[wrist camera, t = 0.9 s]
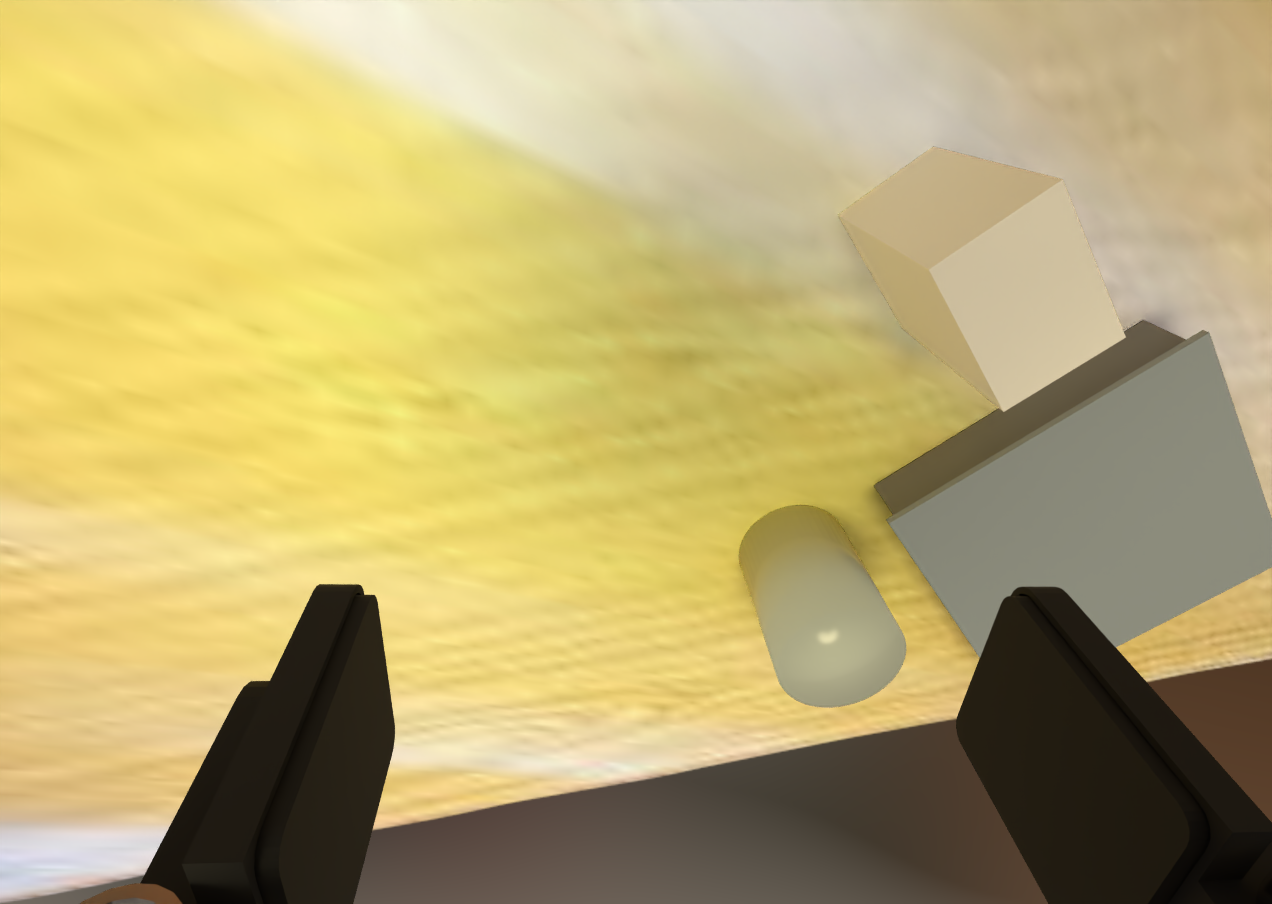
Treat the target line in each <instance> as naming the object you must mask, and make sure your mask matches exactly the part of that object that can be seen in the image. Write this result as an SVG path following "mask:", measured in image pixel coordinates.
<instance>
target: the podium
mask: <svg viewBox="0 0 1272 904" xmlns="http://www.w3.org/2000/svg"><path fill="white" fill-rule="evenodd" d="M1124 334H1125V336H1126V338H1124V339H1123V340H1121V341H1119V342H1118V343H1116V344H1114V345H1113V346H1111V347H1109V348H1108V349H1106V350H1105V351H1103V352H1101V353H1100V354H1098V355H1096V356H1095V357H1093V358H1091V359H1090V360H1088V361H1087V362H1085V363H1083V364H1082V365H1080V366H1078V367H1077V368H1075V369H1073V370H1072V371H1070V372H1068V373H1067V374H1065V375H1064V376H1062V377H1060V378H1059V379H1057V380H1055V381H1054V382H1052V383H1050V384H1049V385H1047V386H1046V387H1044V388H1042V389H1041V390H1039V391H1037V392H1036V393H1034V394H1032V395H1031V396H1029V397H1027V398H1026V399H1024V400H1023V401H1021V402H1019V403H1018V404H1016V405H1014V406H1013V407H1011V408H1009V409H1008V410H1006V411H1005V412H1003V411H1002V410H1000V409H998V410H996V411H995V412H993V413H991V414H990V415H988V416H986V417H985V418H983V419H981V420H980V421H978V422H977V423H975V424H973V425H972V426H970V427H968V428H967V429H965V430H963V431H962V432H960V433H959V434H957V435H955V436H954V437H952V438H950V439H949V440H947V441H946V442H944V443H942V444H941V445H939V446H937V447H936V448H934V449H932V450H931V451H929V452H928V453H926V454H924V455H923V456H921V457H919V458H918V459H916V460H914V461H913V462H911V463H910V464H908V465H906V466H905V467H903V468H901V469H900V470H898V471H897V472H895V473H893V474H892V475H890V476H888V477H887V478H885V479H883V480H882V481H880V482H879V483H877V484H875V485H874V487H875V488H876V490H877V491H878V493H879V494H880V496H881V497H882V499H883V500H884V502H885V503H886V505H887V506H888V508H889V509H890V511H891V512H892V514H893V516H891V517H889V518H888V519H886V520H887V522H888V523H889V525H890V526H891V528H892V529H893V531H894V532H895V534H896V535H897V537H898V538H899V540H900V541H901V543H902V544H903V545H904V547H905V548H906V550H907V551H908V553H909V554H910V556H911V557H912V559H913V560H914V562H915V563H916V565H917V566H918V568H919V569H920V570H921V572H922V573H923V575H924V576H925V578H926V579H927V581H928V582H929V584H930V585H931V587H932V588H933V590H934V591H935V593H936V594H937V596H938V597H939V598H940V600H941V601H942V603H943V604H944V606H945V607H946V609H947V610H948V612H949V613H950V615H951V616H952V618H953V619H954V621H955V622H956V623H957V625H958V626H959V628H960V629H961V631H962V632H963V634H964V635H965V637H966V638H967V640H968V641H969V643H970V644H971V646H972V647H973V648H974V650H975V651H976V653H977V654H978V656H979V657H981V654H982V651H983V649H984V646H985V644H986V641H987V639H988V636H989V633H990V631H991V628H992V626H993V623H994V620H995V618H996V615H997V613H998V610H999V608H1000V605H1001V603H1002V601H1003V599H1004V598H1006V597H1007V596H1011V594H1012V593H1013V591H1014V590H1015V589H1016V588H1018V587H1058V588H1062V589H1063V590H1064V591H1065V592H1066V593H1067V594H1068V595H1069V596H1070V597H1071V598H1072V599H1073V600H1074V601H1075V603H1076V604H1077V605H1078V606H1079V607H1080V608H1081V609H1082V610H1083V612H1084V613H1085V614H1086V615H1087V616H1088V617H1089V618H1090V619H1091V621H1092V622H1093V623H1094V624H1095V625H1096V626H1097V627H1098V628H1099V630H1100V631H1101V632H1102V633H1103V634H1104V635H1105V636H1106V637H1107V638H1108V640H1109V641H1110V642H1111V643H1112V644H1113V645H1114V646H1115V647H1117V646H1119V645H1121V644H1123V643H1125V642H1127V641H1129V640H1131V639H1133V638H1135V637H1137V636H1139V635H1141V634H1143V633H1145V632H1147V631H1149V630H1151V629H1152V628H1154V627H1156V626H1158V625H1160V624H1162V623H1164V622H1166V621H1168V620H1170V619H1172V618H1174V617H1176V616H1178V615H1180V614H1182V613H1184V612H1186V611H1188V610H1190V609H1191V608H1193V607H1195V606H1197V605H1199V604H1201V603H1203V602H1205V601H1207V600H1209V599H1211V598H1213V597H1215V596H1217V595H1219V594H1221V593H1223V592H1225V591H1227V590H1228V589H1230V588H1232V587H1234V586H1236V585H1238V584H1240V583H1242V582H1244V581H1246V580H1248V579H1250V578H1252V577H1254V576H1256V575H1258V574H1260V573H1262V572H1264V571H1266V570H1267V569H1269V568H1271V567H1272V518H1271V515H1270V512H1269V509H1268V506H1267V503H1266V500H1265V497H1264V494H1263V491H1262V488H1261V485H1260V482H1259V479H1258V476H1257V473H1256V470H1255V467H1254V464H1253V461H1252V459H1251V456H1250V453H1249V450H1248V447H1247V444H1246V441H1245V438H1244V435H1243V432H1242V429H1241V426H1240V423H1239V420H1238V417H1237V414H1236V411H1235V408H1234V405H1233V402H1232V399H1231V396H1230V393H1229V390H1228V387H1227V384H1226V381H1225V378H1224V375H1223V372H1222V369H1221V366H1220V363H1219V360H1218V357H1217V354H1216V351H1215V348H1214V345H1213V342H1212V339H1211V336H1210V333H1209V332H1206V331H1204V330H1202V331H1200V332H1199V333H1197V334H1195V335H1194V336H1192V337H1190V338H1189V339H1187V340H1185V339H1183V338H1181V337H1179V336H1177V335H1175V334H1172V333H1170V332H1168V331H1166V330H1164V329H1162V328H1159V327H1157V326H1155V325H1153V324H1151V323H1149V322H1146V321H1144V320H1143V321H1141V322H1140V323H1138V324H1137V325H1135V326H1133V327H1132V328H1130V329H1128V330H1127V331H1125V332H1124Z"/></svg>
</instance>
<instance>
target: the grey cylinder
mask: <svg viewBox="0 0 1272 904" xmlns="http://www.w3.org/2000/svg"><path fill="white" fill-rule="evenodd" d="M739 563H740V567H741V570H742V573H743V576H744V579H745V582H746V585H747V588H748V591H749V594H750V597H751V600H752V603H753V606H754V609H755V612H756V615H757V618H758V621H759V624H760V627H761V630H762V633H763V636H764V639H765V642H766V645H767V648H768V651H769V654H770V657H771V660H772V663H773V666H774V669H775V672H776V675H777V678H778V681H779V683H780V685H781V687H782V688H783V689H784V691H785V692H786V693H787V694H788V695H789V696H791V697H792V698H794V699H795V700H797V701H799V702H801V703H804V704H807V705H810V706H815V707H841V706H846V705H850V704H854V703H857V702H860V701H862V700H865V699H867V698H869V697H871V696H872V695H874V694H876V693H877V692H879V691H880V690H882V689H883V688H884V687H885V686H887V685H888V684H889V683H890V682H891V681H892V680H893V678H894V677H895V676H896V675H897V673H898V672H899V670H900V668H901V667H902V665H903V662H904V659H905V655H906V641H905V638H904V635H903V633H902V631H901V629H900V627H899V626H898V624H897V622H896V620H895V619H894V617H893V615H892V613H891V612H890V610H889V608H888V607H887V605H886V603H885V601H884V600H883V598H882V596H881V594H880V593H879V591H878V589H877V587H876V586H875V584H874V582H873V580H872V579H871V577H870V575H869V574H868V572H867V570H866V568H865V567H864V565H863V563H862V561H861V560H860V558H859V556H858V554H857V553H856V551H855V549H854V547H853V546H852V544H851V542H850V541H849V539H848V537H847V535H846V534H845V532H844V530H843V528H842V527H841V525H840V523H839V522H838V521H837V520H836V518H835V517H833V516H832V515H831V514H830V513H828V512H826V511H824V510H822V509H820V508H817V507H813V506H807V505H795V506H788V507H783V508H780V509H777V510H775V511H772V512H770V513H768V514H767V515H765V516H763V517H762V518H760V519H759V520H758V521H757V522H756V523H754V524H753V525H752V527H751V528H750V529H749V530H748V531H747V533H746V534H745V536H744V538H743V540H742V543H741V545H740V550H739Z"/></svg>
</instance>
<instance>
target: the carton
mask: <svg viewBox="0 0 1272 904" xmlns="http://www.w3.org/2000/svg"><path fill="white" fill-rule="evenodd" d="M838 217H839V218H840V220H841V222H842V224H843V225H844V227H845V229H846V231H847V232H848V234H849V236H850V238H851V240H852V241H853V243H854V245H855V247H856V248H857V250H858V252H859V254H860V255H861V257H862V259H863V261H864V262H865V264H866V266H867V268H868V269H869V271H870V273H871V275H872V276H873V278H874V280H875V282H876V283H877V285H878V287H879V289H880V291H881V292H882V294H883V296H884V298H885V299H886V301H887V303H888V305H889V306H890V308H891V310H892V312H893V313H894V315H895V317H896V319H897V320H898V322H899V324H900V326H901V327H902V329H903V330H905V331H906V332H907V333H908V334H909V335H911V336H912V337H913V338H914V339H915V340H917V341H918V342H919V343H920V344H922V345H923V346H924V347H925V348H926V349H928V350H929V351H930V352H931V353H932V354H934V355H935V356H936V357H937V358H939V359H940V360H941V361H942V362H943V363H945V364H946V365H947V366H948V367H949V368H951V369H952V370H953V371H954V372H956V373H957V374H958V375H959V376H960V377H962V378H963V379H964V380H965V381H966V382H968V383H969V384H970V385H971V386H973V387H974V388H975V389H976V390H977V391H979V392H980V393H981V394H982V395H983V396H985V397H986V398H987V399H988V400H989V401H991V402H992V403H993V404H994V405H996V406H997V407H998V408H999V409H1000V410H1002V411H1003V412H1005V411H1006V410H1008V409H1009V408H1011V407H1013V406H1014V405H1016V404H1018V403H1019V402H1021V401H1023V400H1024V399H1026V398H1027V397H1029V396H1031V395H1032V394H1034V393H1036V392H1037V391H1039V390H1041V389H1042V388H1044V387H1046V386H1047V385H1049V384H1050V383H1052V382H1054V381H1055V380H1057V379H1059V378H1060V377H1062V376H1064V375H1065V374H1067V373H1068V372H1070V371H1072V370H1073V369H1075V368H1077V367H1078V366H1080V365H1082V364H1083V363H1085V362H1087V361H1088V360H1090V359H1091V358H1093V357H1095V356H1096V355H1098V354H1100V353H1101V352H1103V351H1105V350H1106V349H1108V348H1109V347H1111V346H1113V345H1114V344H1116V343H1118V342H1119V341H1121V340H1123V339H1124V338H1126V336H1125V334H1124V331H1123V329H1122V326H1121V324H1120V321H1119V319H1118V316H1117V314H1116V311H1115V309H1114V306H1113V304H1112V301H1111V299H1110V296H1109V294H1108V291H1107V289H1106V286H1105V284H1104V281H1103V279H1102V276H1101V274H1100V271H1099V269H1098V266H1097V264H1096V261H1095V259H1094V256H1093V254H1092V251H1091V249H1090V246H1089V244H1088V241H1087V239H1086V236H1085V234H1084V231H1083V229H1082V226H1081V224H1080V221H1079V219H1078V216H1077V214H1076V211H1075V209H1074V206H1073V204H1072V201H1071V199H1070V196H1069V194H1068V191H1067V189H1066V186H1065V184H1064V181H1063V179H1059V178H1056V177H1052V176H1048V175H1044V174H1040V173H1036V172H1032V171H1028V170H1024V169H1020V168H1016V167H1012V166H1008V165H1004V164H1000V163H996V162H992V161H988V160H984V159H980V158H977V157H973V156H969V155H965V154H961V153H957V152H953V151H949V150H945V149H941V148H937V147H932V148H930V149H929V150H927V151H926V152H925V153H923V154H922V155H920V156H919V157H918V158H916V159H915V160H913V161H912V162H911V163H909V164H908V165H906V166H905V167H904V168H902V169H901V170H899V171H898V172H897V173H895V174H894V175H892V176H891V177H890V178H888V179H887V180H886V181H884V182H883V183H881V184H880V185H879V186H877V187H876V188H874V189H873V190H872V191H870V192H869V193H867V194H866V195H865V196H863V197H862V198H860V199H859V200H858V201H856V202H855V203H853V204H852V205H851V206H849V207H848V208H846V209H845V210H844V211H842V212H841V213H839V214H838Z"/></svg>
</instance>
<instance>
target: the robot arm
mask: <svg viewBox="0 0 1272 904" xmlns="http://www.w3.org/2000/svg"><path fill="white" fill-rule="evenodd" d="M956 729H957V735H958V738H959V741H960V743H961V745H962V747H963V749H964V750H965V752H966V754H967V756H968V758H969V760H970V761H971V763H972V765H973V767H974V769H975V771H976V772H977V774H978V776H979V778H980V780H981V781H982V783H983V785H984V787H985V789H986V791H987V792H988V794H989V796H990V798H991V800H992V801H993V803H994V805H995V807H996V809H997V811H998V812H999V814H1000V816H1001V818H1002V820H1003V822H1004V823H1005V825H1006V827H1007V829H1008V831H1009V833H1010V834H1011V836H1012V838H1013V840H1014V842H1015V843H1016V845H1017V847H1018V849H1019V850H1020V853H1021V854H1022V856H1023V858H1024V860H1025V862H1026V863H1027V865H1028V867H1029V869H1030V871H1031V873H1032V874H1033V876H1034V878H1035V880H1036V882H1037V883H1038V885H1039V887H1040V889H1041V891H1042V893H1043V894H1044V896H1045V898H1046V900H1047V902H1048V904H1272V822H1271V821H1270V820H1269V819H1268V818H1267V817H1266V816H1265V815H1264V813H1262V811H1261V810H1260V809H1259V808H1258V807H1257V806H1256V805H1255V803H1254V802H1253V801H1252V800H1251V799H1250V798H1249V797H1248V796H1247V795H1246V793H1245V792H1244V791H1243V790H1242V789H1241V788H1240V787H1239V785H1238V784H1237V783H1236V782H1235V781H1234V780H1233V779H1232V778H1231V776H1230V775H1229V774H1228V773H1227V772H1226V771H1225V770H1224V769H1223V768H1222V766H1221V765H1220V764H1219V763H1218V762H1217V761H1216V760H1215V758H1214V757H1213V756H1212V755H1211V754H1210V753H1209V752H1208V751H1207V750H1206V748H1205V747H1204V746H1203V745H1202V744H1201V743H1200V742H1199V741H1198V740H1197V738H1196V737H1195V736H1194V735H1193V734H1192V733H1191V732H1190V731H1189V729H1188V728H1187V727H1186V726H1185V725H1184V724H1183V723H1182V721H1180V719H1179V718H1178V717H1177V716H1176V715H1175V714H1174V713H1173V711H1172V710H1171V709H1170V708H1169V707H1168V706H1167V705H1166V704H1165V702H1164V701H1163V700H1162V699H1161V698H1160V697H1159V696H1158V695H1157V693H1156V692H1155V691H1154V690H1153V689H1152V688H1151V687H1150V686H1149V684H1148V683H1147V682H1146V681H1145V680H1144V679H1143V678H1142V677H1141V675H1140V674H1139V673H1138V672H1137V671H1136V670H1135V669H1134V668H1133V667H1132V665H1131V664H1130V663H1129V662H1128V661H1127V660H1126V659H1125V658H1124V656H1123V655H1122V654H1121V653H1120V652H1119V651H1118V650H1117V649H1116V647H1115V646H1114V645H1113V644H1112V643H1111V642H1110V641H1109V640H1108V638H1107V637H1106V636H1105V635H1104V634H1103V633H1102V632H1101V631H1100V630H1099V628H1098V627H1097V626H1096V625H1095V624H1094V623H1093V622H1092V621H1091V619H1090V618H1089V617H1088V616H1087V615H1086V614H1085V613H1084V612H1083V610H1082V609H1081V608H1080V607H1079V606H1078V605H1077V604H1076V603H1075V601H1074V600H1073V599H1072V598H1071V597H1070V596H1069V595H1068V594H1067V593H1066V592H1065V591H1064V590H1063V589H1062V588H1058V587H1018V588H1016V589H1015V590H1014V591H1013V593H1012V594H1011V596H1007V597H1006V598H1004V599H1003V601H1002V603H1001V605H1000V608H999V610H998V613H997V615H996V618H995V620H994V623H993V626H992V628H991V631H990V633H989V636H988V639H987V641H986V644H985V646H984V649H983V651H982V654H981V657H980V659H979V662H978V664H977V667H976V670H975V672H974V675H973V677H972V680H971V682H970V685H969V688H968V690H967V693H966V695H965V698H964V700H963V703H962V706H961V708H960V711H959V713H958V716H957V720H956ZM394 739H395V723H394V716H393V709H392V702H391V695H390V688H389V680H388V673H387V666H386V659H385V652H384V645H383V638H382V630H381V623H380V616H379V609H378V602H377V598H376V596H375V595H364V591H363V588H362V586H361V585H338V584H319V585H318V586H316V588H315V589H314V591H313V593H312V595H311V597H310V599H309V601H308V603H307V605H306V607H305V609H304V611H303V613H302V616H301V618H300V620H299V622H298V624H297V626H296V628H295V630H294V632H293V634H292V636H291V638H290V640H289V643H288V645H287V647H286V649H285V651H284V653H283V655H282V657H281V659H280V661H279V663H278V665H277V667H276V670H275V672H274V674H273V676H272V678H271V680H270V681H251V682H249V683H248V684H247V685H246V686H244V687H243V689H242V690H241V692H240V694H239V695H238V697H237V698H236V700H235V702H234V704H233V706H232V708H231V710H230V712H229V714H228V716H227V718H226V720H225V721H224V723H223V725H222V727H221V729H220V731H219V733H218V735H217V737H216V739H215V741H214V743H213V745H212V746H211V748H210V750H209V752H208V754H207V756H206V758H205V760H204V762H203V764H202V766H201V768H200V770H199V771H198V773H197V775H196V777H195V779H194V781H193V783H192V785H191V787H190V789H189V791H188V793H187V795H186V796H185V798H184V800H183V802H182V804H181V806H180V808H179V810H178V812H177V814H176V816H175V818H174V820H173V821H172V823H171V825H170V827H169V829H168V831H167V833H166V835H165V837H164V839H163V841H162V843H161V844H160V846H159V848H158V850H157V852H156V854H155V856H154V858H153V860H152V862H151V864H150V866H149V868H148V869H147V871H146V873H145V875H144V877H143V880H142V881H141V883H140V884H139V883H134V884H129V885H125V886H121V887H116V888H112V889H109V890H107V891H104V892H103V893H100V894H98V895H95V896H93V897H91V898H89V899H87V900H85V901H83V902H81V903H80V904H353V902H354V898H355V894H356V891H357V887H358V883H359V879H360V875H361V871H362V868H363V864H364V860H365V856H366V852H367V848H368V845H369V841H370V837H371V833H372V829H373V825H374V822H375V818H376V814H377V810H378V806H379V802H380V799H381V795H382V791H383V787H384V783H385V779H386V776H387V772H388V768H389V764H390V760H391V756H392V752H393V747H394Z"/></svg>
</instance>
